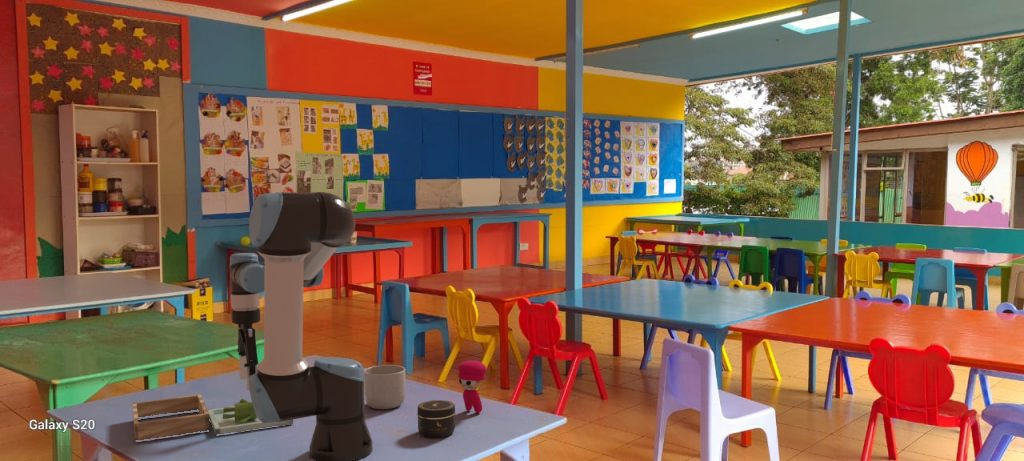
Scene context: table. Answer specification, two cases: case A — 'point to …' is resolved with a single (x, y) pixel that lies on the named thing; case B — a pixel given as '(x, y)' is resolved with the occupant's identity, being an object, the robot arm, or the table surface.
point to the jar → (436, 418)
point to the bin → (172, 424)
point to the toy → (471, 383)
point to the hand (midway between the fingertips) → (248, 383)
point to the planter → (384, 386)
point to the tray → (234, 426)
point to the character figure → (241, 411)
